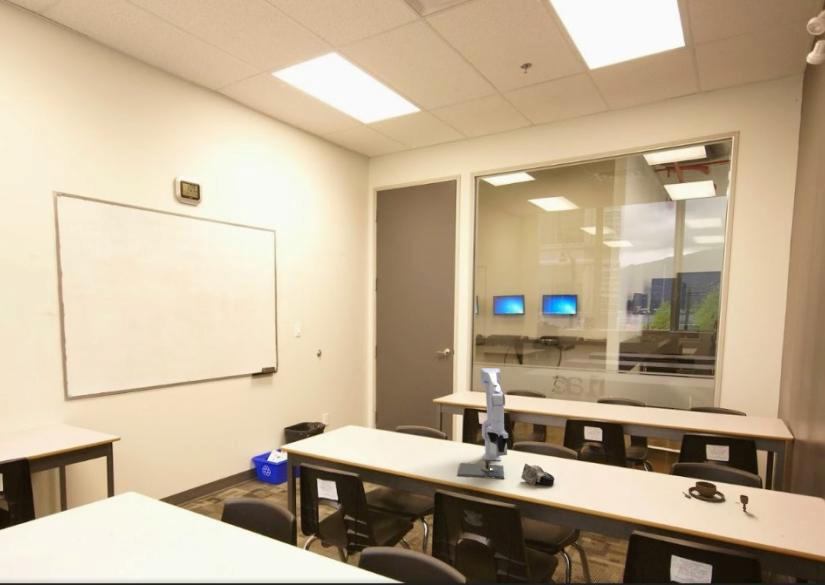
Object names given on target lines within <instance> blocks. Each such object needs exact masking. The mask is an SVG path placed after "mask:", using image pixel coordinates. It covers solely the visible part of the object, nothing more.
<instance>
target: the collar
mask: <svg viewBox="0 0 825 585" xmlns="http://www.w3.org/2000/svg"><path fill="white" fill-rule="evenodd" d="M490 453H492V454H493V455H495V456H501V457H502V456H508V444H507V443H506V445H505V449H504V452H499V449H498V442H497V441H490Z"/></svg>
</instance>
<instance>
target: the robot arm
mask: <svg viewBox="0 0 825 585" xmlns="http://www.w3.org/2000/svg"><path fill="white" fill-rule="evenodd" d="M479 372H480V373H479V376H480V386H483V387H484V389H485V390H484V391H485V400H486V401H485V402H486V417H487V418H486V419H485V420H484V421H483V422H482V424H481V436H482V438H483V440H484V454H483V455H484V458H483V460H485V461H501V462H502V456H495V455H493V454H492V453H490V441H497V442H498V449H499V452H504V449H505V445H506V444H507V442H508V441H509V439H510V437H509V433H508V432H507V431H506V430H505V410H504V409H505V405H506V396H505V393H504V392H502V387H501V385H500V380H501V377H502V376H501V373H502V372H501V369H500V368H499V367H497V368H496V367H495V368H486V367H484V368H483V367H481V368H480V371H479Z"/></svg>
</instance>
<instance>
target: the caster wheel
mask: <svg viewBox="0 0 825 585" xmlns="http://www.w3.org/2000/svg"><path fill="white" fill-rule="evenodd" d="M521 479H522V480H524V481H525V482H527V483H528V484H530V485H532V486H535V485H536V482H537V483H540V484H543V485H547V486H554V482H555V477H554V476H553V474H550V473H549V472H547V471H544V470H543V468H542V467H541V466H539V465H536V464H535V465H534V464H533V465H529V464H528V463H524V466H523V469H522V474H521Z"/></svg>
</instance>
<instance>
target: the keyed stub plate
mask: <svg viewBox="0 0 825 585" xmlns="http://www.w3.org/2000/svg"><path fill="white" fill-rule="evenodd" d="M504 471H505V470H504V465H499V464H491V460H485V464H484V463H469V462H467V463H466V462H460V463H459V468H458V471H457V476H458V477H468V476H475V477H474V478H483V477H494V478H493V479H498V478H504V479H505V472H504Z"/></svg>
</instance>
